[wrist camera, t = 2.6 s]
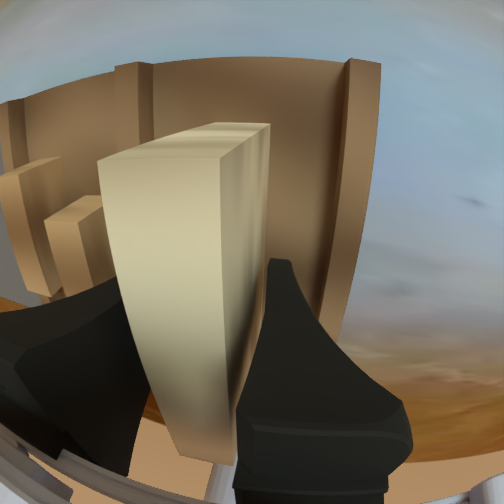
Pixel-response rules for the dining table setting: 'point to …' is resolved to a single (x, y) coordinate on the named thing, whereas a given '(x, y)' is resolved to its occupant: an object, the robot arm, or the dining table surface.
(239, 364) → the birch panel
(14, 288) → the charcoal mat
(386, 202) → the dining table surface
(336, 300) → the walnut rack
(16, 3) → the dining table surface
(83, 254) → the teak offcut
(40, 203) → the teak offcut
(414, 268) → the dining table surface
